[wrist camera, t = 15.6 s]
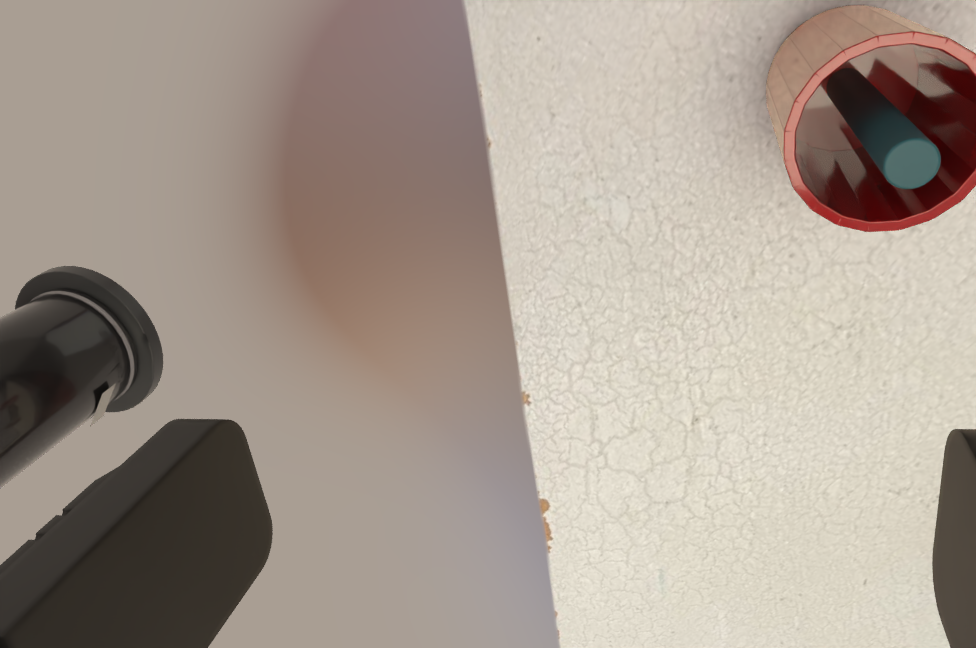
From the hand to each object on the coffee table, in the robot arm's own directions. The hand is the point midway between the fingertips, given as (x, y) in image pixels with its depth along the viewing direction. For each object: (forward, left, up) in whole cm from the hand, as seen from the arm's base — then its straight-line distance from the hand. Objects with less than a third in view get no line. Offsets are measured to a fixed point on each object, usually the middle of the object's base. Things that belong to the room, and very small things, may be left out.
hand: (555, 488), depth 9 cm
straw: (+8, -2, -33) cm, 34 cm away
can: (+8, -2, -33) cm, 34 cm away
